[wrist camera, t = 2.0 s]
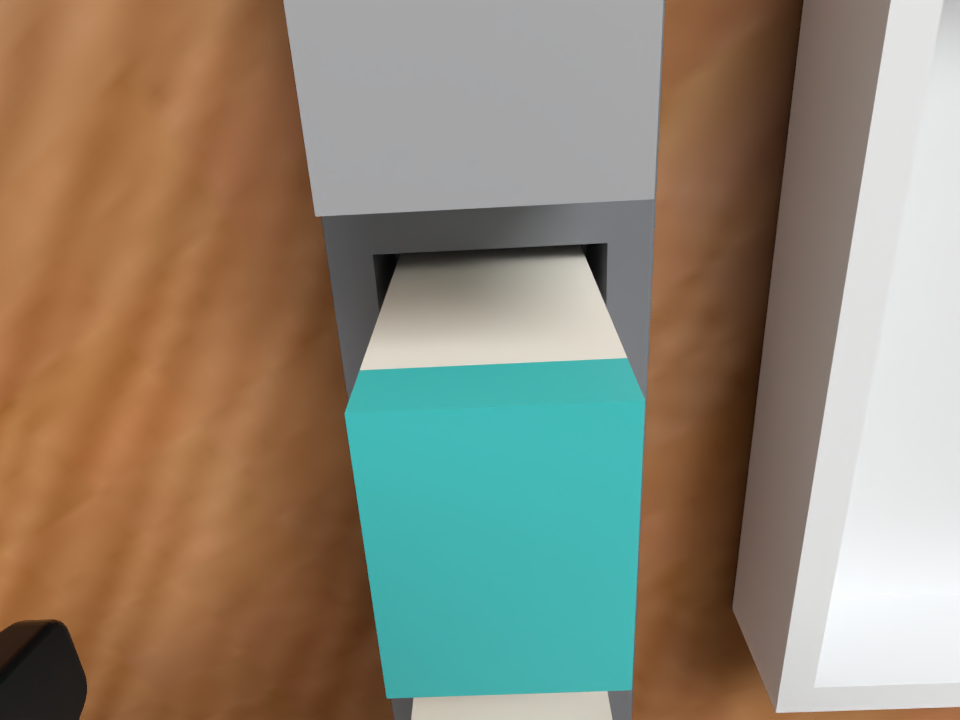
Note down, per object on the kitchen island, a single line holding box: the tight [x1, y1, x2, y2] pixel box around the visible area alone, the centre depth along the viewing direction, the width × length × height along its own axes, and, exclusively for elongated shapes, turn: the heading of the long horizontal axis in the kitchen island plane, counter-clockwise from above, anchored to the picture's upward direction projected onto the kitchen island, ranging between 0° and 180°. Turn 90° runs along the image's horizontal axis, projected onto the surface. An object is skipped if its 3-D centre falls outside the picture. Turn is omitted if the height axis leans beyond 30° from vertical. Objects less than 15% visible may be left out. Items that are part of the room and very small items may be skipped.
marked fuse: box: [344, 244, 645, 699], centre depth 11 cm, size 4×3×7 cm
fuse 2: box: [411, 691, 612, 720], centre depth 14 cm, size 4×3×7 cm
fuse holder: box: [321, 0, 665, 720], centre depth 14 cm, size 18×5×3 cm, turn 3°
